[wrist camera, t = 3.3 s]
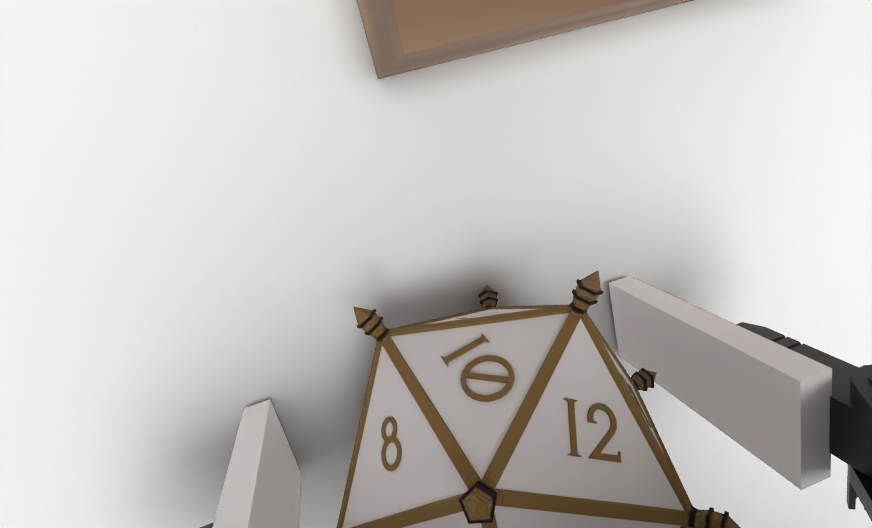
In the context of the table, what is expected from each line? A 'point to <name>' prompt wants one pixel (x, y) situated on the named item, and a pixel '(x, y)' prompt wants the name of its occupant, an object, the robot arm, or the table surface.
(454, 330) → the game die
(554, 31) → the framed mirror
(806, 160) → the table surface
